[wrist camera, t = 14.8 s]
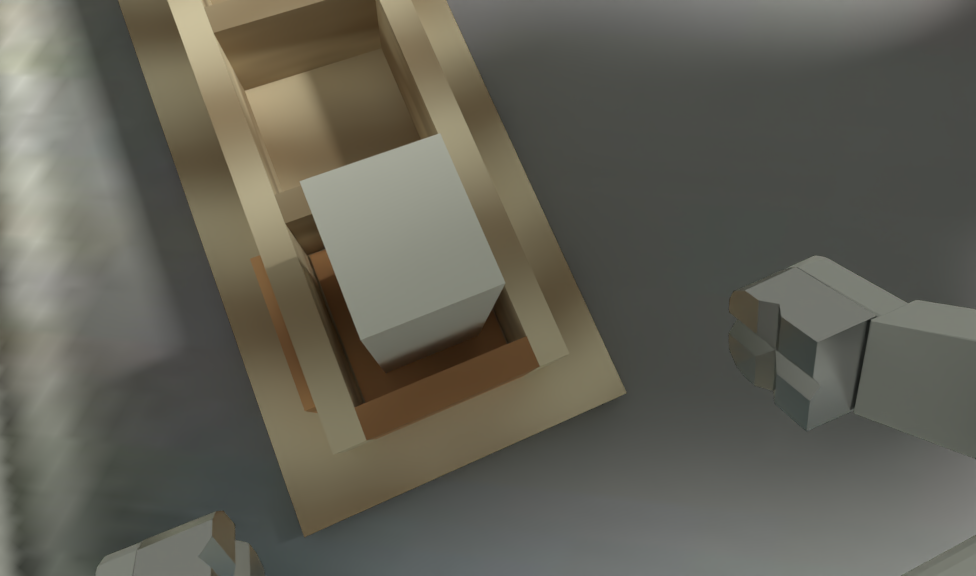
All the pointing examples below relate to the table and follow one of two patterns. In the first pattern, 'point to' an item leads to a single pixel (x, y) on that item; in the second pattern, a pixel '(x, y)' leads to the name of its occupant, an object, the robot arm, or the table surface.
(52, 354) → the table surface
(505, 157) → the rack
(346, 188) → the off-white tall block
